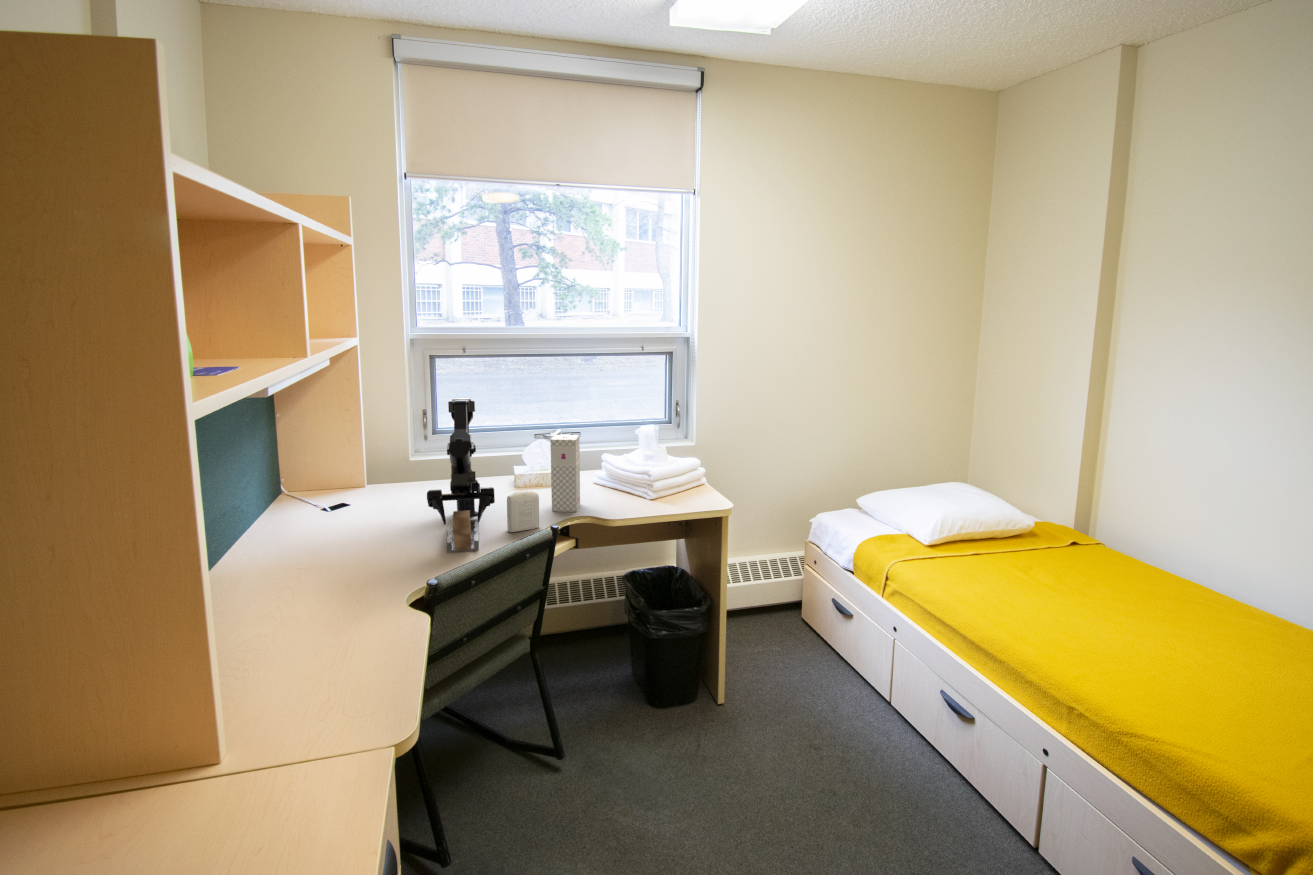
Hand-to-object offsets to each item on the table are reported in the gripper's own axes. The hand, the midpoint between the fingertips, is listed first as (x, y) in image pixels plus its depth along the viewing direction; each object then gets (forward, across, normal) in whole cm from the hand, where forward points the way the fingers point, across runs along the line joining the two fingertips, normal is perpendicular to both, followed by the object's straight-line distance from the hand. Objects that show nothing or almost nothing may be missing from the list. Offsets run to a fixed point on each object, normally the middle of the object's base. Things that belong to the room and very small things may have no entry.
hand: (461, 523), depth 194 cm
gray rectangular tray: (-1, 0, +13) cm, 13 cm away
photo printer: (-5, +18, +17) cm, 25 cm away
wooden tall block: (+4, 0, +6) cm, 8 cm away
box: (-19, +34, +31) cm, 49 cm away
